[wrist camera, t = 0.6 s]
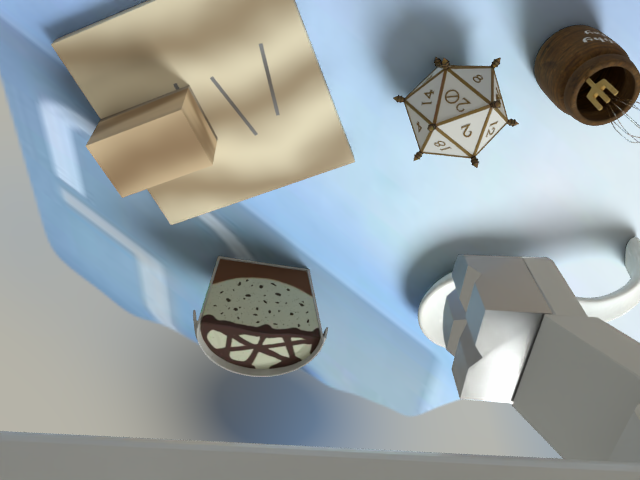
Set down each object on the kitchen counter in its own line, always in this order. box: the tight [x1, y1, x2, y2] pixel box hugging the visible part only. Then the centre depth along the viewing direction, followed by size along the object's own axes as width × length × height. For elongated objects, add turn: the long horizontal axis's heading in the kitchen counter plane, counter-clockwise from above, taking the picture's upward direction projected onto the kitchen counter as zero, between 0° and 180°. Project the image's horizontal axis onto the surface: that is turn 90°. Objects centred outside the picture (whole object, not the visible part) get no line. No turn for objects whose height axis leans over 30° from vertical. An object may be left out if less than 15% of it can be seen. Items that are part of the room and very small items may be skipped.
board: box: [51, 0, 355, 225], centre depth 47 cm, size 18×18×1 cm
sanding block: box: [86, 85, 218, 198], centre depth 46 cm, size 5×8×4 cm, turn 110°
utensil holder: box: [534, 25, 640, 143], centre depth 42 cm, size 6×6×12 cm
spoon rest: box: [418, 237, 640, 348], centre depth 59 cm, size 24×12×7 cm, turn 107°
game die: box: [393, 57, 519, 168], centre depth 45 cm, size 9×8×10 cm
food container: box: [193, 256, 328, 377], centre depth 56 cm, size 12×6×10 cm, turn 77°
